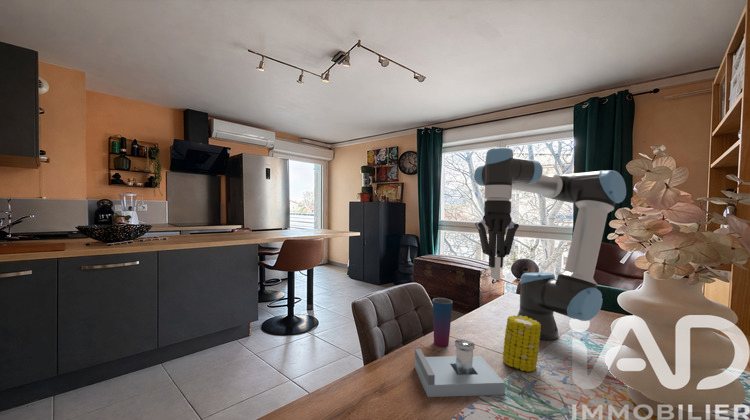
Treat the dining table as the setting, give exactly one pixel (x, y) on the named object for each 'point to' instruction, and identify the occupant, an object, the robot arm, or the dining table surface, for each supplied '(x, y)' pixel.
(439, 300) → the cup
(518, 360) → the food
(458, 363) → the silver metal cylinder
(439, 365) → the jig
